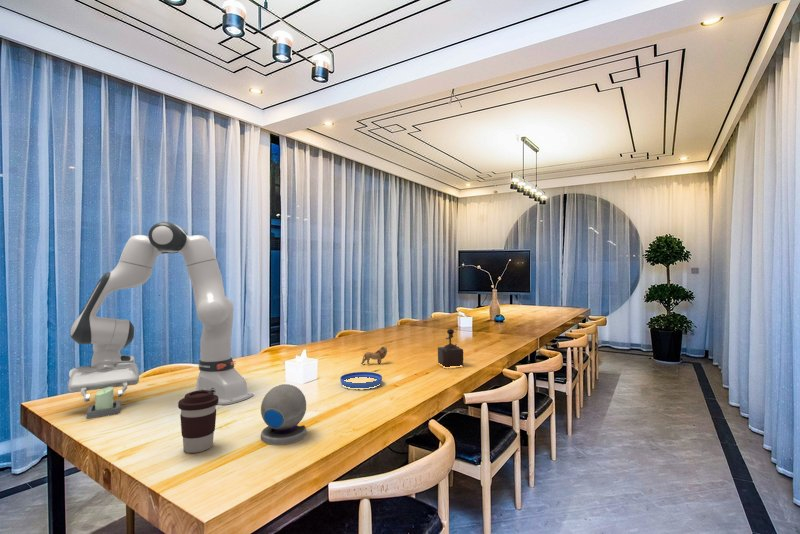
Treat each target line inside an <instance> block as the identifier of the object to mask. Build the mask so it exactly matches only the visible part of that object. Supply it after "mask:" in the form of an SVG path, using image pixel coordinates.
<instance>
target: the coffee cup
mask: <svg viewBox="0 0 800 534" xmlns="http://www.w3.org/2000/svg"><path fill="white" fill-rule="evenodd" d="M218 400H219V397H218V396H217V395H214V394H213V392H212V391H209V390H198V391H196V390H194V391H190V392H188V393H185V395H184V397H183V398H181V399H179V401H178V403H177V405H178V406H177V407H178V409H179V410H180V430H181V437H182V443H183V444H182V446H183V451H184V452H185V453H188V454H197V453H203V452H205V451H208V450H210V449H211V448H212V447H213V445H214V433H215V430H216V421H217V405H219V404H218Z"/></svg>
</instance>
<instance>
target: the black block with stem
mask: <svg viewBox="0 0 800 534" xmlns="http://www.w3.org/2000/svg"><path fill="white" fill-rule="evenodd" d="M446 333H447V334H448V337H445V340H449V341H448V344H446V345H444V346H439V347H438V346H437V364H438V363H440V364H442V365H443V366H445V367H450V366H460V365H463V366H464V349H463V348H460V346H457V343H455V344H453V343H452V339H453V338H454V335H453V334H454V333H455V330H454V329H453V328H449V329H448V330H447V331H446Z"/></svg>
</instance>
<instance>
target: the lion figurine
mask: <svg viewBox="0 0 800 534" xmlns="http://www.w3.org/2000/svg"><path fill="white" fill-rule="evenodd" d="M387 353H388V348H387V347H386V346H381V347H380V348H379V349H378V350H377V351H375V352H371V351H367V352H365V353H364V354H363V357H362V362H361V363H360V364H362V365H363V363H365V362H366V364H367V365H368V364H370V360H377V362H379V363H381V364H382V360H383V359H385V357H386V356H387ZM377 362H376V363H377Z"/></svg>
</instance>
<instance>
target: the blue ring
mask: <svg viewBox="0 0 800 534" xmlns="http://www.w3.org/2000/svg"><path fill="white" fill-rule="evenodd" d="M355 377H358V378H359V377H367V378H369V377H370V378H374V379H377V380H376V381H373V382H366V383H352V382H346V381H344V380H346V379H347V380H348V379H350V378H355ZM339 380H340V383H341V386H342V385H344V386H346V387H350V388H369V387H374V386H377V385H379V384H380V383H381V384H382V381H383V376H382V374H380V373H376V372H373V371H371V372H370V371H355V372H348V373H345V374H343V375H341V376H340V379H339Z"/></svg>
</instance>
